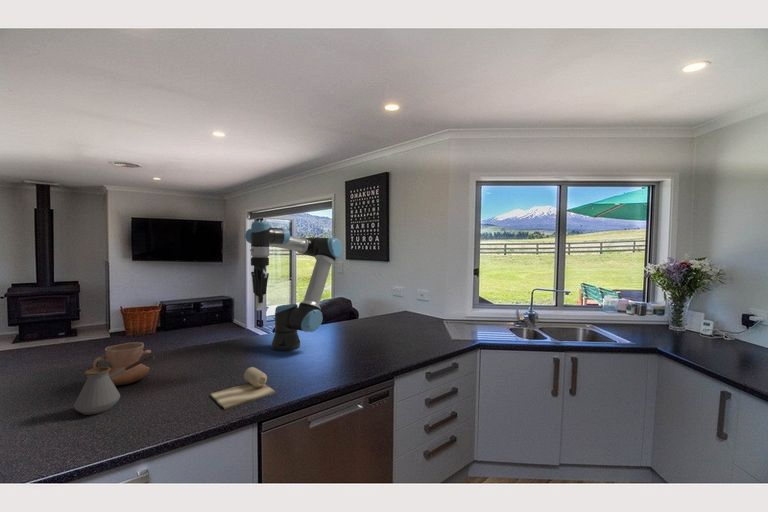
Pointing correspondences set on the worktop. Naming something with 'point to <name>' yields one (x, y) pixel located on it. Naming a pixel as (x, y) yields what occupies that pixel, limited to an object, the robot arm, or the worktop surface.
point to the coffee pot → (100, 390)
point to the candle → (255, 377)
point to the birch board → (240, 395)
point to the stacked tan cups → (125, 362)
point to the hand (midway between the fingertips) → (259, 309)
